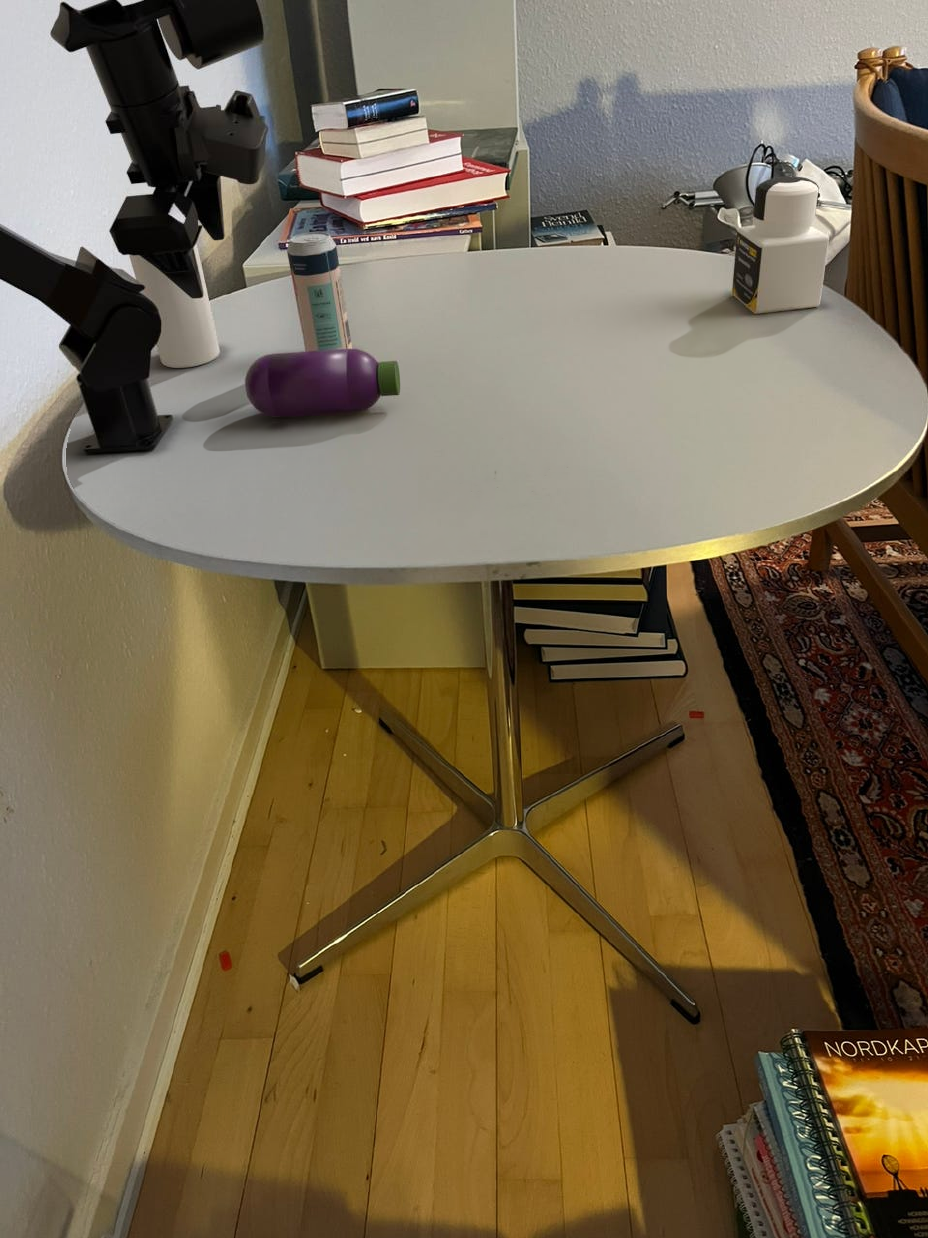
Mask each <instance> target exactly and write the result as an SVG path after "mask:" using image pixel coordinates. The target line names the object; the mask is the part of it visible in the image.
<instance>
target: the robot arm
mask: <svg viewBox="0 0 928 1238" xmlns="http://www.w3.org/2000/svg"><path fill="white" fill-rule="evenodd" d="M49 32H50V33H49V34H50V37H51V38H52V40H54V41H55V42H56V43H57V44H58V45H60V46H61V47H62V48H63V49H64V50H66V52H69V53H75V52H77V51H79V50H82V49H86V52H87V54H88V57H89V59H90V61H91V63H92V67H93V69H94V71H95V74H96V77H97V79H98V81H99V84H100V86H101V89H102V91H103V93H104V96H105V98H106V101H107V103H108V106H109V109H110V112H109V114H108V115H107V118H106V120H105V121H104V122H105V124H106V127H107V130H108V132H109V134H110V135H116V134H120V136H121V138H122V140H123V143H124V146H125V147H126V150H127V153H128V155H129V157H130V160H131V162H130V164H129V166H128V168H127V170H126V173H125V174H126V175H127V177H128V180H129V183H130V184H131V185H137V184H146V185H147V187H150V188H154V190H153V192H152V193H148V194H146V193H145V194H136V195H126V196H125V199H124V200H123V202H122V204H121V206H120V208H119V210H118V212H117V214H116V215H115V218H114V220H113V222H112V224H111V226H110V228H109V230H108V232H109V234H110V236H111V238H112V240H113V242H114V245H115V247H116V250H117V251H118V253H119V254H121V255H122V256H129V255H133V256H135V255H139V256H141V257H142V258H144V259H145V260H146V261H148V262H149V263H150V264H152V265H153V266H154V267H156V268H157V269H158V270H159V271H161V272H162V273H163V274H164V275H165V276H167V277H168V278H169V279H170V280H171V281H172V282H173V283H175V284H176V285H177V286H178V287H179V288H180V289H181V290H183V291H184V292H185V293H186V294H187V295H188V296H189V297H191V298H193V299H196V298H202V297H203V295H204V293H203V288H202V282H201V278H200V273H199V269H198V265H197V261H196V257H195V252H194V246H195V245H197V242H198V240H199V237H200V235H201V232H202V229H204V230H205V231H206V233H207V234H208V236H210V238H211V240H212V241H223V240H224V239H225V237H226V235H225V234H226V233H225V222H224V209H223V207H224V206H223V194H222V177H224V178H227V179H231V180H235V181H237V182H238V183H239V184H242V185H255V184H256V183H258V182H259V180H260V175H261V173H262V170H263V166H264V165H265V162H266V145H267V135H268V132H269V127H268V125H267V123H266V116H264V115H261V113H260V110H259V108H258V105H257V103H256V100H255V98H254V95H253V94H252V93H249V92H245V91H241V90H238V89H237V90H235V91H234V92H233V93H232V95H231V97H230V98H229V99H228V102H227V103H226V105H225V107H224V109H222V105H221V104H215V106H214V105H213V106H205V107H204V106H203V107H201V106H200V104H199V102H198V99H197V96H196V92H195V91H194V90H191V88H190V86H189V85H180V83H179V80H178V78H177V75H176V71H175V68H174V65H173V63H172V60H171V57H170V54H169V51H168V48H169V50H170V51H171V53H172V55H173V56H174V57H175V58H176V59H177V60H178V61H182V60H185V59H186V60H187V61H188V62H189V64H190V65H191V66H192V67H193V68H194V69H196V70H202V69H203V68H206V67H209V66H211V65H213V64H216V63H218V62H222V61H223V60H225V59H228V58H231V57H233V56H236V55H238V54H241V53H243V52H245V51H248V50H251V49H252V48H256V47H258V46H260V45H262V44H263V42H264V39H265V38H264V35H265V33H264V22H263V18H262V14H261V10H260V7H259V4H258V1H257V0H139V1H136V2H133V3H130V4H126V5H123V4H122V3H121V2H120V1H119V0H103V1H101V2H98V3H96V4H93V5H90V6H88V7H85V8H82V9H77V8H75V7H73V6H71V5H70V4H69V3H67V2H66V1H61V2H60V3H59V11H58V15H57V18H56V19H55V21H54V23H53V25H52V27H51V29H50V31H49ZM166 44H167V45H166ZM167 46H168V48H167ZM199 223H200V225H199ZM0 280H1V281H3V282H4V283H6V284H8V285H10V286H11V287H14V288H16V289H17V290H19V291H21V292H23V293H25V294H27V295H29V296H30V297H33V298H34V299H36V300H38V301H39V302H40V303H42V304H43V305H45V306H46V307H47V308H48V309H49V310H51V311H52V312H53V313H55V314H56V315H57V316H58V317H60V318H61V319H62V320H63V321H65V322H66V323H67V324H68V325H69V326H68V328H67V330H66V331H65V333H64V335H63V337H62V338H61V339H60V341H59V344H58V349H59V350H60V352H61V353H62V355H64V357H65V358H66V359H67V361H68V362H69V363H70V364H71V365H72V366H73V367H74V368H75V369H76V370H77V372H78V374H77V375H76V377H75V379H76V382H77V385H78V388H79V391H80V394H81V397H82V399H83V400H82V401H83V403H84V406H85V409H86V413H87V415H88V417H89V421H90V424H91V427H92V429H93V432H94V433H93V434H92V435H91V437H89V439H88V440H87V441H86V442H85V444H84V445H83V446H82V450H83V452H84V454H97V453H99V454H100V453H116V452H128V451H129V452H131V451H132V452H133V451H146V450H147V451H150V450H153V449H155V448H156V447H157V446H158V444H159V443H160V441H161V440H162V438H163V437H164V435H165V434H166V432H167V431H168V429H169V428H170V427H171V425H172V423H173V422H174V417H173V416H174V415H172V414H158V411H157V407H156V403H155V401H154V398H153V393H152V391H151V387H150V384H149V380H148V379H149V378H150V374H151V373H150V371H151V358H152V351H153V350H154V349H155V347H156V344H157V343H158V340H159V337H160V335H161V324H162V321H161V318H160V315H159V311H158V308H157V307H156V306H155V304H154V303H153V302H152V301H151V300H150V299H148V298H147V297H146V296H145V295H143V294H142V293H141V291H142V290H144V289H145V286H144V285H143V284H141V283H140V282H139V281H137V280H136V277H134V276H132V275H131V274H129V273H128V272H127V271H125V270H124V269H122V268H116V267H112V266H110V265H107V264H106V263H105V262H104V261H102V260H101V259H100V258H99V257H97V256H96V255H95V254H93V253H92V252H91V251H89V250H88V249H87V248H85V247H84V246H80V247H79V251H78V254H77V257H76V260H74V259H71V258H68V257H65V256H61V255H58V254H55V253H53V252H50V251H48V250H46V249H44V248H43V247H42V246H39V245H38V244H36V243H34V242H33V241H31V240H29V239H28V238H26V237H24V236H22V235H21V234H19V233H17V232H16V231H13V230H12V229H11V228H8V227H7V226H5V225H3V224H1V223H0Z"/></svg>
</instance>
